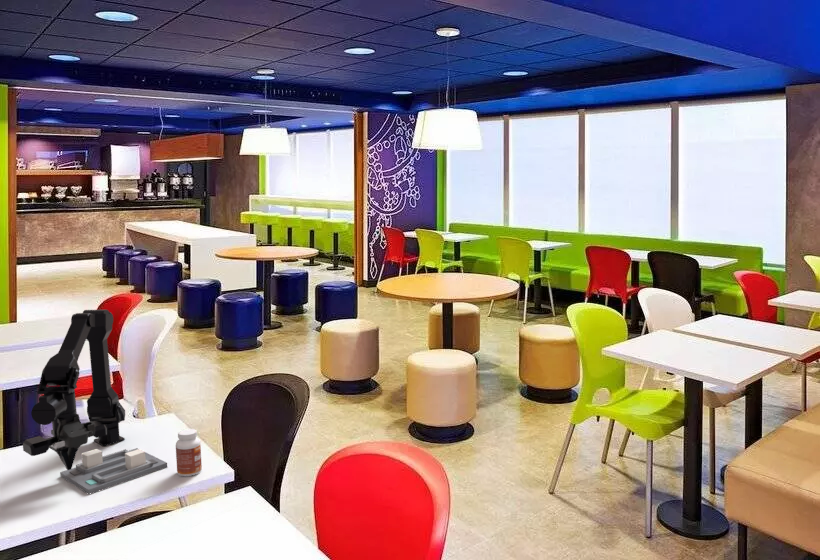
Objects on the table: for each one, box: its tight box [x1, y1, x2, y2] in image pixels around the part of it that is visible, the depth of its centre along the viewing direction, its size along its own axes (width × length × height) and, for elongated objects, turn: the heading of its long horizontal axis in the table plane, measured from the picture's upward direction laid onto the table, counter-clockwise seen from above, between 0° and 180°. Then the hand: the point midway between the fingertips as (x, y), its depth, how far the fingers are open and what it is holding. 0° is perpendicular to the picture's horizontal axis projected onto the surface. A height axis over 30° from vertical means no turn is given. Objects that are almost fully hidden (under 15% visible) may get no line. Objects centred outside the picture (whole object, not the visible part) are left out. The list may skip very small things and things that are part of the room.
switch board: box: [59, 447, 168, 495], centre depth 182 cm, size 16×21×2 cm
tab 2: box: [125, 448, 146, 469], centre depth 181 cm, size 3×4×4 cm
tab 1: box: [81, 448, 103, 468], centre depth 181 cm, size 3×4×4 cm
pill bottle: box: [175, 428, 203, 477], centre depth 180 cm, size 6×6×11 cm
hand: (68, 469), depth 177 cm, fingers closed
